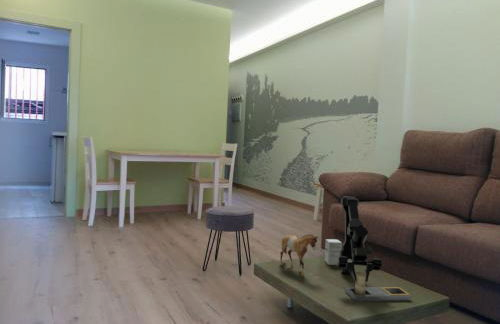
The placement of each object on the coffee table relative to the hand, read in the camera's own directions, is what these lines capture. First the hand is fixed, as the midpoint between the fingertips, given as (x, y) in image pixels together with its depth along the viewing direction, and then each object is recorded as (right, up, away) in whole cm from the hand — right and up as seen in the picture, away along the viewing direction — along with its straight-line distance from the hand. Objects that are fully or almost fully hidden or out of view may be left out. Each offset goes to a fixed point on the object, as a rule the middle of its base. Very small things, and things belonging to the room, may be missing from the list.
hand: (361, 281), depth 171 cm
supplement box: (-2, -6, +51) cm, 52 cm away
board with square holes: (+8, -7, +3) cm, 11 cm away
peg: (0, -7, +2) cm, 7 cm away
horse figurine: (-22, -5, +38) cm, 44 cm away
